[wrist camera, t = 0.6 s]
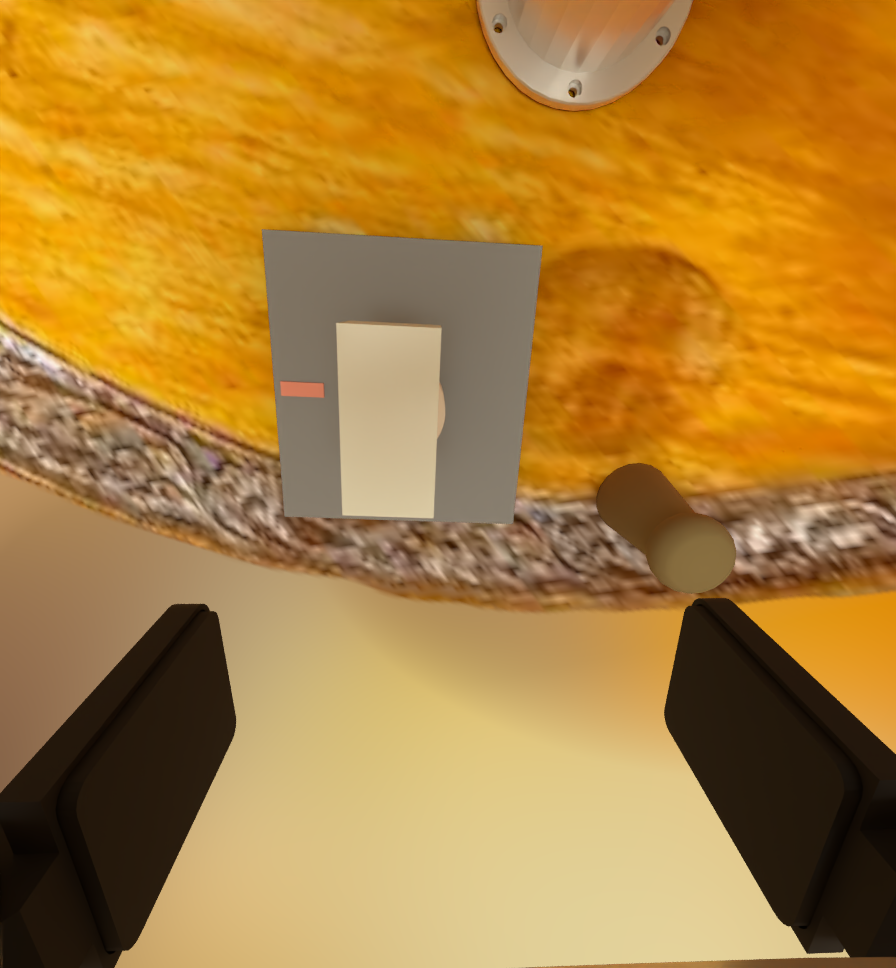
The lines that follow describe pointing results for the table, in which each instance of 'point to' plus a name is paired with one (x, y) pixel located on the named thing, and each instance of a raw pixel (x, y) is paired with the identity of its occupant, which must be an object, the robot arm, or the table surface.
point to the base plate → (414, 300)
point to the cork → (666, 529)
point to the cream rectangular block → (389, 417)
